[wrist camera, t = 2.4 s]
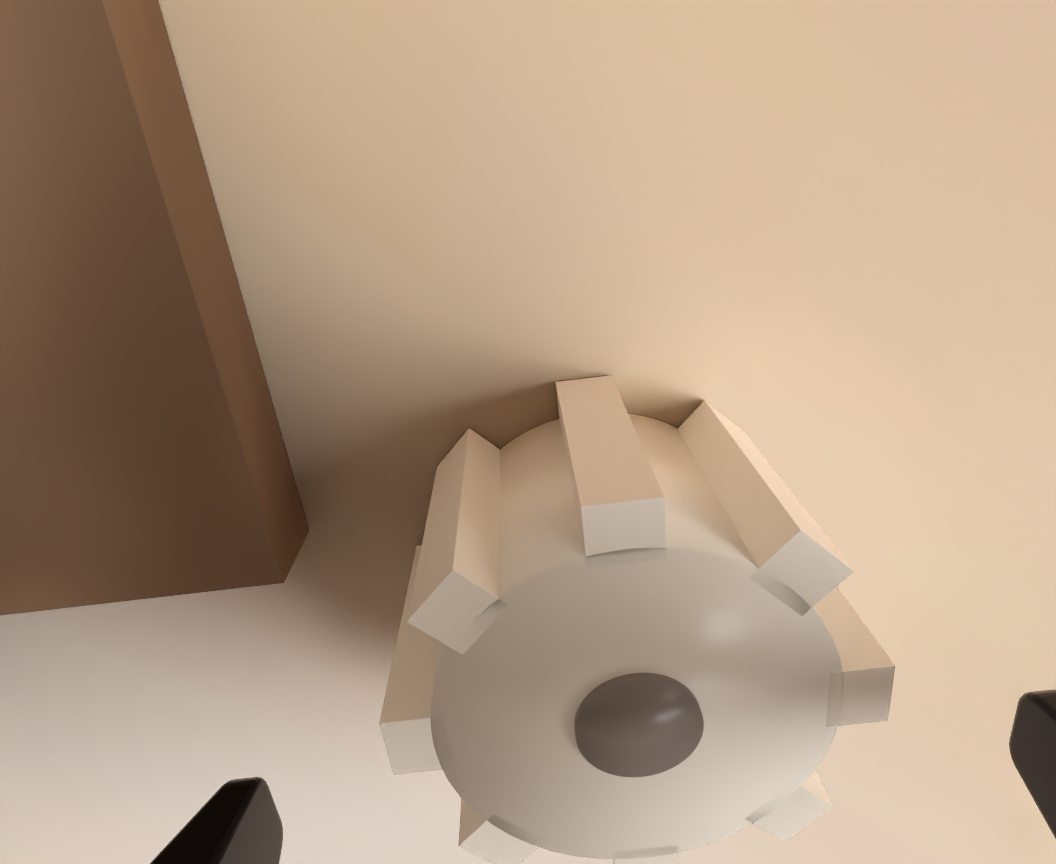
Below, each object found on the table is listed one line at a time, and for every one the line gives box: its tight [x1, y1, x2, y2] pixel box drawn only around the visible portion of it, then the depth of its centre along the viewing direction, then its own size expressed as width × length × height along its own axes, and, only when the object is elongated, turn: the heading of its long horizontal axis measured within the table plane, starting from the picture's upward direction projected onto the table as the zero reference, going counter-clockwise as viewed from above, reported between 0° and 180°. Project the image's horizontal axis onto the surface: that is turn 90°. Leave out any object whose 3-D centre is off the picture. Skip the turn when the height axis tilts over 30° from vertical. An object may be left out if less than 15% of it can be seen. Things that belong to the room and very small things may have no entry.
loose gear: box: [379, 375, 895, 864], centre depth 10 cm, size 6×6×4 cm
